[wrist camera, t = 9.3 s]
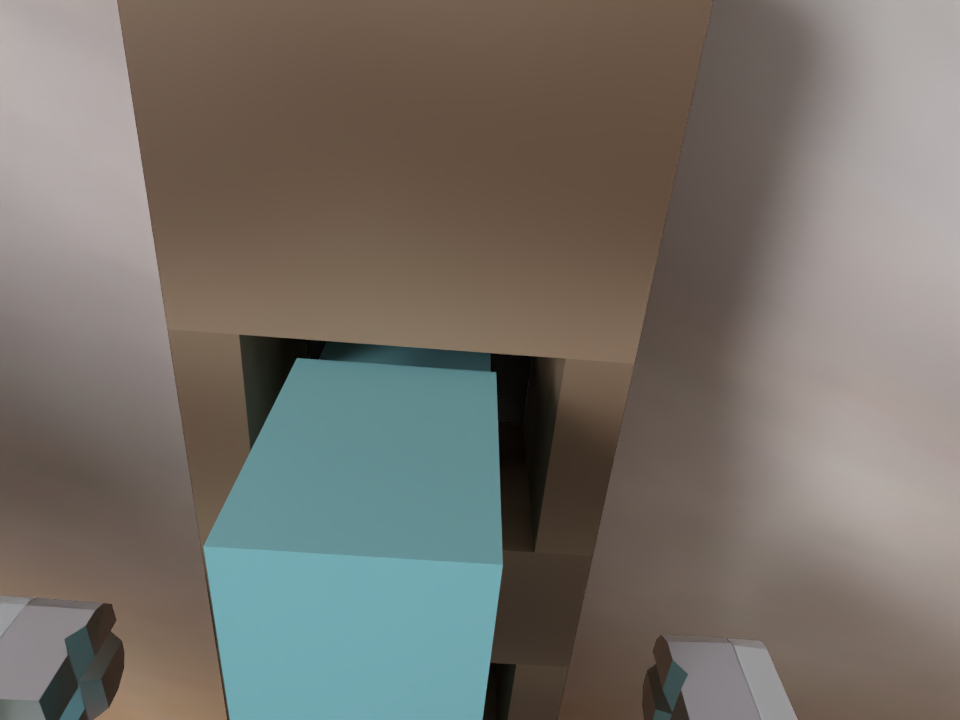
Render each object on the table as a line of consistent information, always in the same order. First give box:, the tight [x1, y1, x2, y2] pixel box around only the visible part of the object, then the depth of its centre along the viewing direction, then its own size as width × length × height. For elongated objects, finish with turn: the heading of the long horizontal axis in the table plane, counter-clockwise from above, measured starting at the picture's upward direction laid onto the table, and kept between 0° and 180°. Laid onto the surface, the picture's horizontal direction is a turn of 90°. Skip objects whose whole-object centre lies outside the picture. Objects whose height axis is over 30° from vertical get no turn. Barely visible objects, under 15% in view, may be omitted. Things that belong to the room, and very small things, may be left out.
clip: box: [203, 341, 503, 720], centre depth 11 cm, size 9×3×6 cm, turn 175°
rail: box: [117, 0, 713, 720], centre depth 13 cm, size 20×6×4 cm, turn 175°
